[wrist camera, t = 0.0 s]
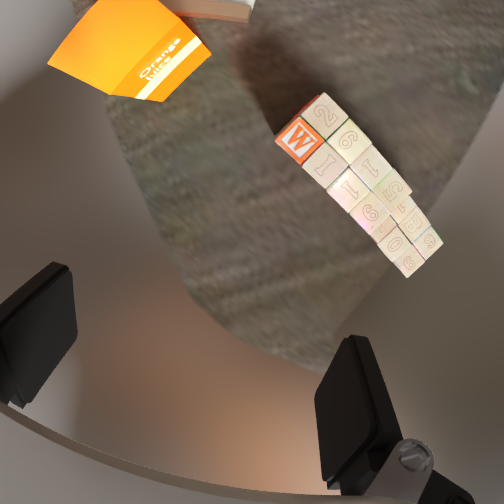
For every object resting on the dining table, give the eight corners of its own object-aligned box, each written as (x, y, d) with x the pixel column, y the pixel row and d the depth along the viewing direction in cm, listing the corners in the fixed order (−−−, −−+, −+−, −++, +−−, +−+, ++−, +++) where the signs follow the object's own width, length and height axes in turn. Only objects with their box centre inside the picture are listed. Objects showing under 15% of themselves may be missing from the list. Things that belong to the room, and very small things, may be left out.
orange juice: (125, 67, 33) (25, 42, 15) (173, 20, 31) (99, -45, 12) (163, 103, 35) (73, 92, 17) (213, 54, 32) (160, -5, 14)
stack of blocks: (413, 219, 39) (457, 254, 28) (382, 249, 41) (415, 293, 30) (307, 101, 34) (324, 90, 23) (272, 135, 36) (273, 140, 25)
